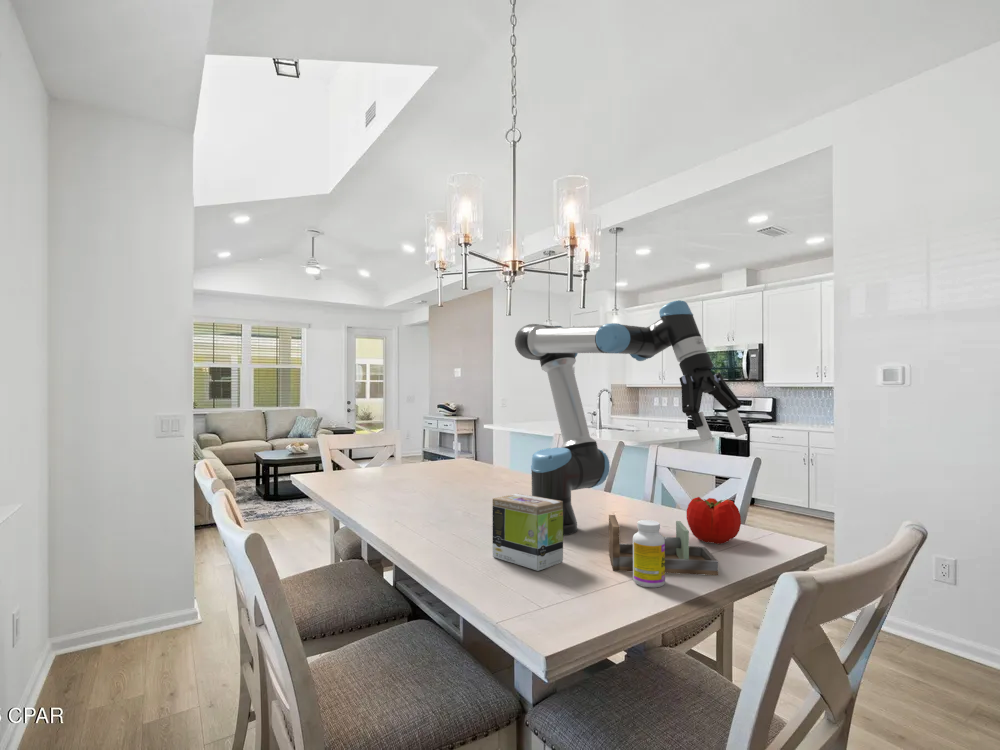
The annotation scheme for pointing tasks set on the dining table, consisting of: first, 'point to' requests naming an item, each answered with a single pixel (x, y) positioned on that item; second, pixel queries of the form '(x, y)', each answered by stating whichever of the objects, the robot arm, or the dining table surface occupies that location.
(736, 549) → the dining table surface
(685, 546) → the pusher
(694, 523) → the tomato
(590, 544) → the dining table surface
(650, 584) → the supplement bottle
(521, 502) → the tea box
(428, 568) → the dining table surface
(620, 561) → the lane
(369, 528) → the dining table surface
